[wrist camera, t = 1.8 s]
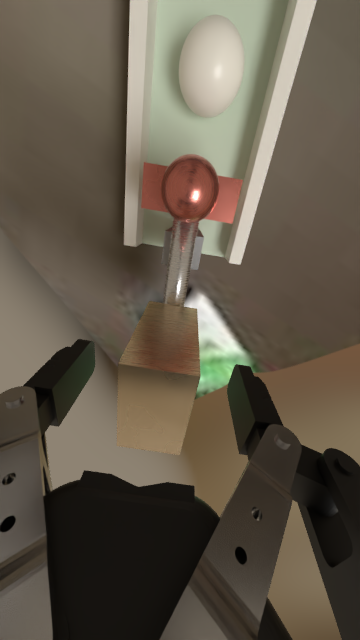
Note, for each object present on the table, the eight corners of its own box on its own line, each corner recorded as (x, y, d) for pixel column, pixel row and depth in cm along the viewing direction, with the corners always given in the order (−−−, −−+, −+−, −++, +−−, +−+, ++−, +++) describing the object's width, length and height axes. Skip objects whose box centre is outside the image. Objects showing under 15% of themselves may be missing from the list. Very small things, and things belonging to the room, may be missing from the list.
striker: (162, 177, 16) (72, 63, 4) (224, 188, 16) (322, 111, 4) (149, 315, 22) (95, 442, 10) (195, 322, 22) (200, 457, 10)
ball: (185, 42, 13) (183, -20, 10) (244, 53, 14) (263, -4, 10) (176, 122, 15) (172, 94, 12) (228, 131, 15) (239, 107, 12)
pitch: (156, -226, 10) (73, -1243, 3) (350, -182, 10) (691, -1036, 3) (134, 240, 20) (103, 254, 13) (233, 257, 21) (254, 279, 13)
